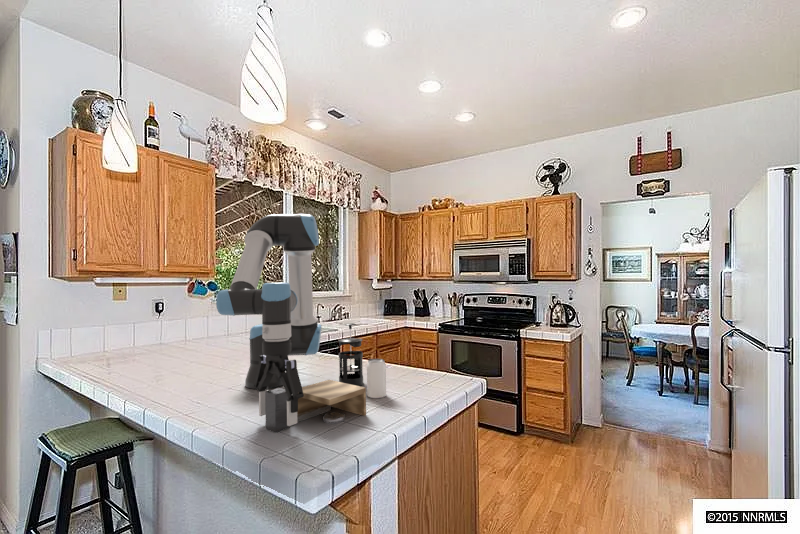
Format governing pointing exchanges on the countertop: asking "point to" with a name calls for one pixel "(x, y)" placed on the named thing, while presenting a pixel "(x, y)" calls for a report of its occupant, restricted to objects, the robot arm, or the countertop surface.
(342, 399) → the shelf
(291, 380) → the robot arm
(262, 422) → the countertop surface
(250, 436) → the countertop surface
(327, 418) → the disc
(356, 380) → the french press
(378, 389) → the can
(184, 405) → the countertop surface
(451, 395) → the countertop surface
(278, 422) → the tool
